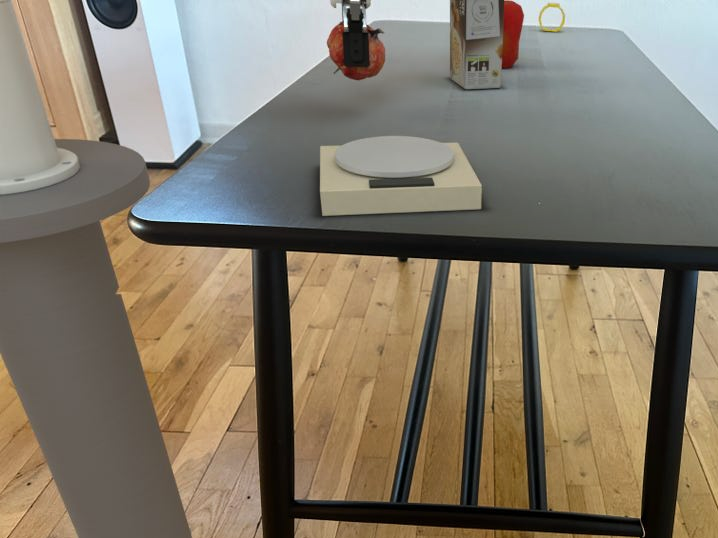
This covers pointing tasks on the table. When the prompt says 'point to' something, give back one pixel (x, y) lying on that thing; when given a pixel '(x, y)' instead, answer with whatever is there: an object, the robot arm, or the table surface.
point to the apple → (511, 32)
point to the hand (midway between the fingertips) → (355, 60)
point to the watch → (552, 6)
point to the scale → (396, 177)
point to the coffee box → (476, 43)
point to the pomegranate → (374, 53)
